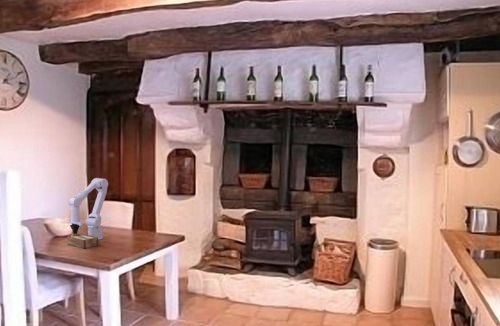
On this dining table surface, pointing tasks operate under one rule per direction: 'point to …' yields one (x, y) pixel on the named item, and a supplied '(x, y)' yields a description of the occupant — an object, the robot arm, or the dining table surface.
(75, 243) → the keepsake box
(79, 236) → the lid
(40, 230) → the dining table surface
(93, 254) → the dining table surface
